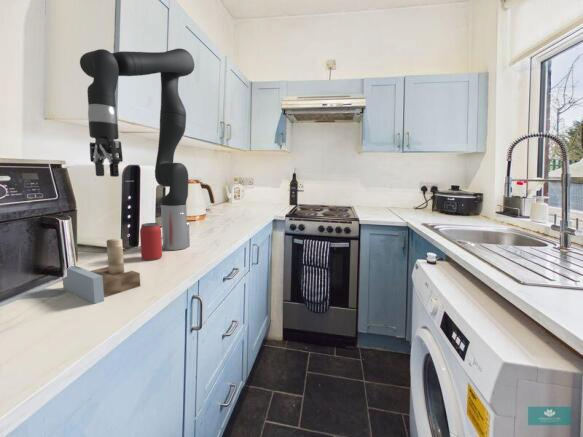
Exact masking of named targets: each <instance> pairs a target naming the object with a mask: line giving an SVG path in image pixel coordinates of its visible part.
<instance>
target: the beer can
mask: <svg viewBox="0 0 583 437" xmlns="http://www.w3.org/2000/svg"><path fill="white" fill-rule="evenodd" d="M140 226H141V227H140V230H139V237H140V238H139V239H140V254H141V256H140V257H141V259H142V260H143V261H157V260H160V259H161V258H162V257H163V239H162V227H161V226H160V223H159V222H147V223H142V224H141V225H140Z"/></svg>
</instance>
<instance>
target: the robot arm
mask: <svg viewBox="0 0 583 437" xmlns="http://www.w3.org/2000/svg"><path fill="white" fill-rule="evenodd" d="M79 66H80V68H81V70H82V71H83V73H84V74H85V75H87V76H88V77H90V78H92V79H93V81H92V83H91V84H89V85H88V87H87V102H88V103H87V105H88V107H87V119H88V130H89V131H88V132H89V137H90V138H92V139H95V140H94V141H95V142H93V141H92V142H90V143H89V156H90V157H89V159H90V162H92V163H93V164H94V166H95V168H94V170H95V176H96V177H104V176H105V164H104V162H105V160H106V159H107V160H108V163H109V176H110V177H112V178H113V177H119V175H120V174H119V164H120V163H122V162H123V159H124V158H123V150H122V142H121V141H119V140H118V139H119V138H120V137H119V136H120V135H119V123H118V113H117V107H116V105H117V104H116V91H117V90H116V89H117V86H118V80H119V77H135V76H136V77H138V76H139V77H140V76H147V75H153V74H159V73H160V109H159V110H160V113H159V135H158V136H159V137H158V147H157V155H156V160H155V167H154V168H155V169H154V176H155V181H156V183H157V184H158V185H159V186H161V187H165V188H166V187H168V188H169V192H168V193H166V195H163V196H162V197H161V198H160V209H161V210H160V212H161V213H160V214H161V238H162V250H166V251H178V250H184V249H187V248H188V247H190V246H191V245H190V243H191V242H190V240H191V239H190V223H189V222H188V215H187V212H188V211H187V201H188V197H189V172H188V168H187V167H186V166H185V165H184V164H183V163H180V162H174V159H175V158H174V156H175V151H176V149H177V146H178V145H179V144H180V142H181V140H182V138H183V136H184V134H185V132H186V123H187V112H186V108H185V106H184V104H183V101H182V99H181V97H180V94H179V78H182V77H185V76H189V75H191V74H192V73H193V71H194V70H195V59H194V58H193V55H192V54H191V53H190V52H189V51H188V50H186V49H184V48H174V49H170V50H167V51H162V52H161V51H160V52H158V51H157V52H151V51H150V52H149V51H148V52H146V51H125V50H124V51H116V52H110V51H109V50H107V49H104V48H102V49H101V48H100V49H94V50H92V51H89V52H86V53H84V54H82V56H81V57H80V59H79ZM117 140H118V141H117Z"/></svg>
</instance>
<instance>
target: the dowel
mask: <svg viewBox="0 0 583 437" xmlns="http://www.w3.org/2000/svg"><path fill="white" fill-rule="evenodd" d="M123 247H124V246H123V239H122V238H111V239H107V240H106V251H107V267H108V269H109V274H110V275H112V276H114V275H118V274H121V273H125V267H124V265H125V264H124V250H123Z"/></svg>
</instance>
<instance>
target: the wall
mask: <svg viewBox="0 0 583 437" xmlns="http://www.w3.org/2000/svg"><path fill="white" fill-rule="evenodd" d="M73 265H74V266H71V267H68V268H66V269H67V277H65V278H62V286H63V287H62V288H63V289H64V290H66V291H68V292H70V293H71V294H74V295H76V296H78V297H80V298H82V299H84V300H86V301H88V302H90V303H92V304H94V305H95V304H99V303H102V302H104V301H105V297H104V291H103V278H102V276H101V275H98V274H96V273H93V272H91V271H92V270H88V269H85V268H83V267H80V266H77V265H75V264H73Z"/></svg>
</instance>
